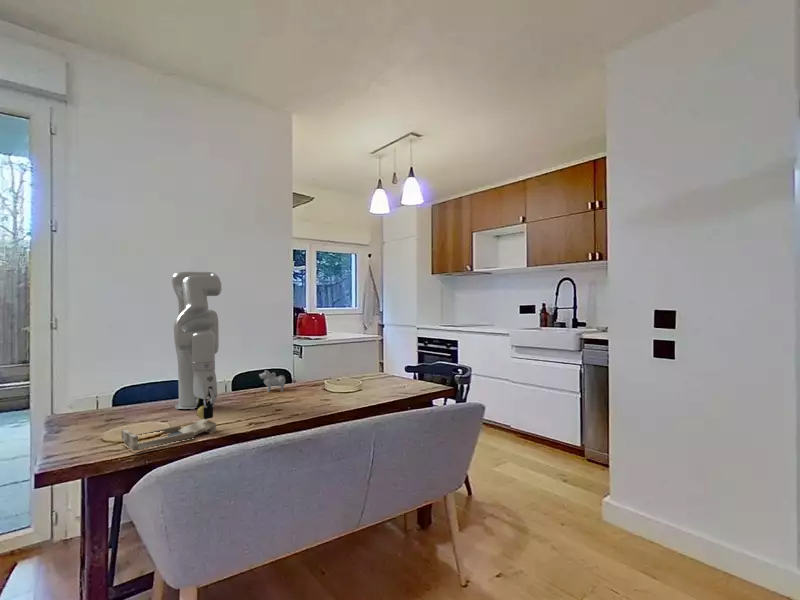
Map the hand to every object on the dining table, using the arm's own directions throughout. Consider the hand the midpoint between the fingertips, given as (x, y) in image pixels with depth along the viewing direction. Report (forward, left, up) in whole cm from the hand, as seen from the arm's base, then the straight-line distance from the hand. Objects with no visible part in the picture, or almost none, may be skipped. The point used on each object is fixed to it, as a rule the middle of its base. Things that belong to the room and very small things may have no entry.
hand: (204, 416), depth 168 cm
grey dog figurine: (-42, +54, -6) cm, 68 cm away
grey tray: (0, -15, -5) cm, 16 cm away
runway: (0, -15, -5) cm, 16 cm away
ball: (0, 0, +1) cm, 1 cm away
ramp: (0, -3, -5) cm, 6 cm away
